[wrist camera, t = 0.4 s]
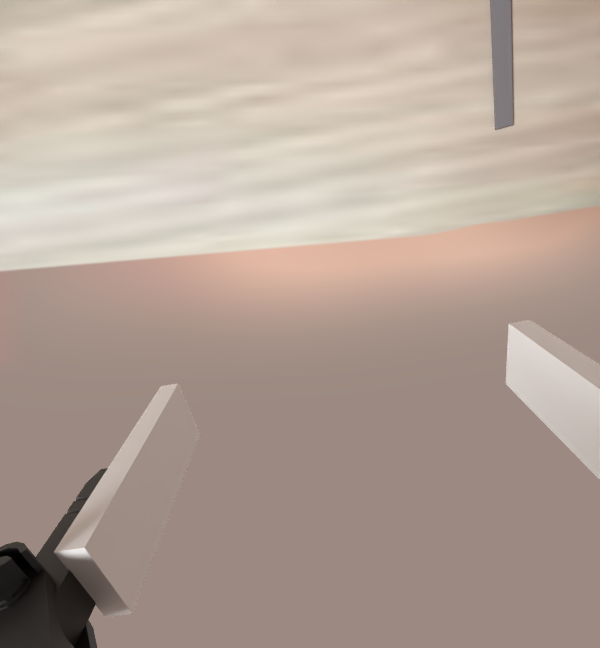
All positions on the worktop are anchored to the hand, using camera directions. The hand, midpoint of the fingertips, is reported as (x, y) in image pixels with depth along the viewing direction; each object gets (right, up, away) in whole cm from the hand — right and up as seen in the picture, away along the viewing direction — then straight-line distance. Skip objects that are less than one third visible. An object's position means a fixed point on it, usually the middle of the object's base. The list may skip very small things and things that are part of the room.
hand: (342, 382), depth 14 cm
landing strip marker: (+16, +30, +17) cm, 38 cm away
